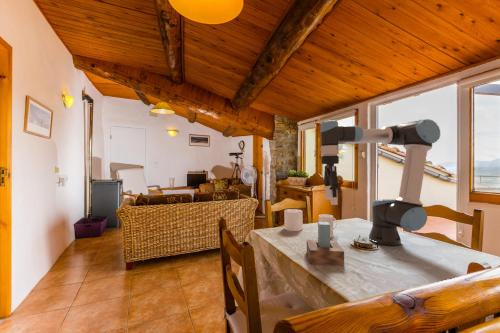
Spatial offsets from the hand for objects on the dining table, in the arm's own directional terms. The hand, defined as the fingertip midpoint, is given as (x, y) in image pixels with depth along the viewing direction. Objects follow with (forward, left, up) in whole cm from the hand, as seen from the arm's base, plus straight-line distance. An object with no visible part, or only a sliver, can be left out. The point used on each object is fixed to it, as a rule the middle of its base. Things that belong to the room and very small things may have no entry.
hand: (330, 202), depth 108 cm
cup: (+14, -47, -26) cm, 55 cm away
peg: (+3, +1, -26) cm, 26 cm away
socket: (+3, +1, -26) cm, 26 cm away
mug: (-6, -34, -26) cm, 43 cm away
